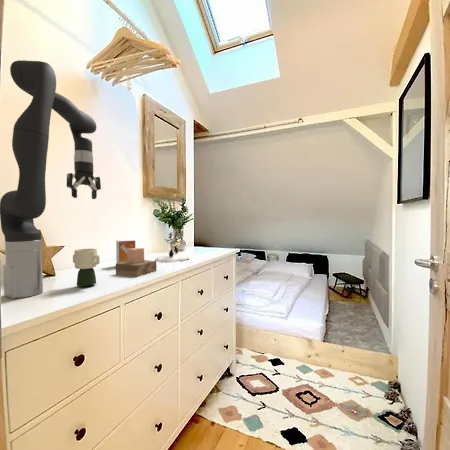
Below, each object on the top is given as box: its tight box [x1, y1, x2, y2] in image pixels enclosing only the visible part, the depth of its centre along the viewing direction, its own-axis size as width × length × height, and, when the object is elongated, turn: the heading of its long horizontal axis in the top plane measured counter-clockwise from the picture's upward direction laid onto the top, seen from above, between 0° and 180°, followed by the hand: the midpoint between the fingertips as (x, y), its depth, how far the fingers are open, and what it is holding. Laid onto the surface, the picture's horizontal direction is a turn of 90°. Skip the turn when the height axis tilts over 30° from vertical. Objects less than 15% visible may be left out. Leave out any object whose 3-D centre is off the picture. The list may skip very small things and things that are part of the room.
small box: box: [115, 239, 136, 264], centre depth 132 cm, size 8×6×13 cm
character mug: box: [72, 248, 101, 287], centre depth 93 cm, size 11×7×13 cm, turn 77°
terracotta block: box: [127, 247, 145, 264], centre depth 115 cm, size 5×5×6 cm
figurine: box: [154, 232, 190, 263], centre depth 150 cm, size 20×18×16 cm
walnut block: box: [115, 259, 157, 278], centre depth 115 cm, size 12×12×5 cm
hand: (84, 198), depth 118 cm, fingers open, 8 cm apart
